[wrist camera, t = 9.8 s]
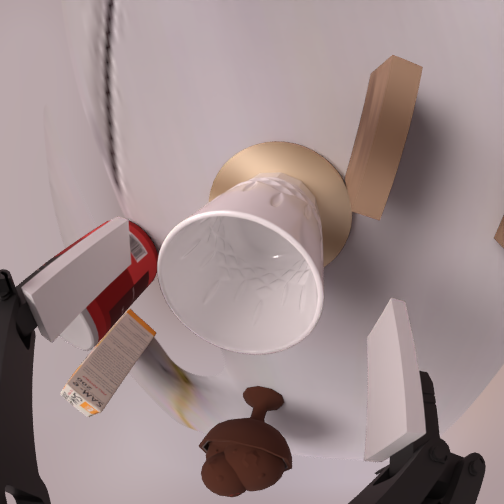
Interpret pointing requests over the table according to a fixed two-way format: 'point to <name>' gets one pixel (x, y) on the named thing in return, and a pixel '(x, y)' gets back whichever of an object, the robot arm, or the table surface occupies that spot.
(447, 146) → the table surface
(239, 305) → the white cup
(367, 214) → the walnut cradle
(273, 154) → the cork coaster
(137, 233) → the canned food
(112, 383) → the supplement box
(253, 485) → the ice cream bowl
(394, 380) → the robot arm
